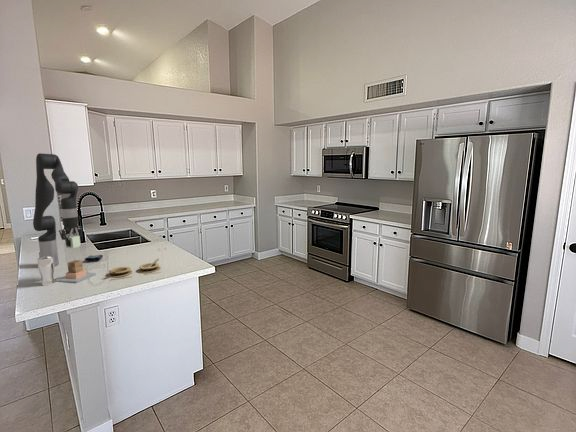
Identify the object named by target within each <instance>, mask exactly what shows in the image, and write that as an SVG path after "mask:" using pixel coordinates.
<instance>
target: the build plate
mask: <svg viewBox="0 0 576 432" xmlns="http://www.w3.org/2000/svg"><path fill="white" fill-rule="evenodd" d="M96 275H97V273H96V272H95V273H94V272H87V270H86V269H83V271H80V272H78V273H69V272H68V271H67V272H65V275H64V276H62V277H59V278H57V279H55V283H57V282H58V283H71V284H72V283H73V284H77V283H81V282H82V281H85V280H87V279H90V278H92V277H95V276H96Z"/></svg>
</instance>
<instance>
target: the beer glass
mask: <svg viewBox="0 0 576 432" xmlns="http://www.w3.org/2000/svg"><path fill="white" fill-rule="evenodd" d="M37 268H38V271H39V274H40V277H41V286H44V287H45V286H51V285H53V284H56V279H55V278H54V276H55V275H54V272H55V266H54V261H53V257H52V256H46V257H41V258H39V257H38V258H37Z"/></svg>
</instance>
